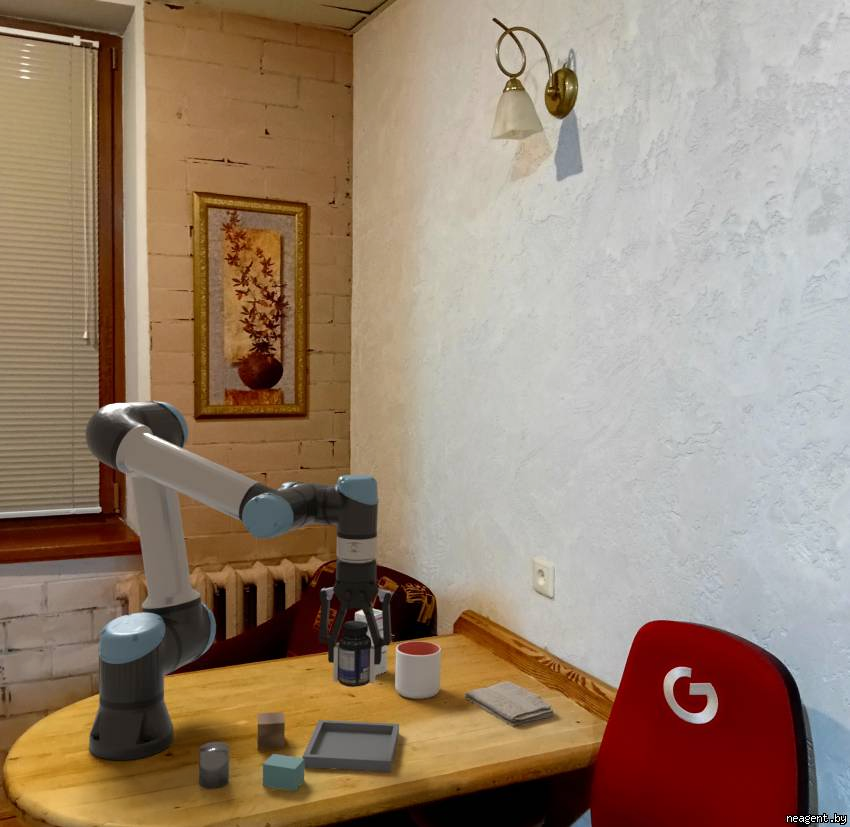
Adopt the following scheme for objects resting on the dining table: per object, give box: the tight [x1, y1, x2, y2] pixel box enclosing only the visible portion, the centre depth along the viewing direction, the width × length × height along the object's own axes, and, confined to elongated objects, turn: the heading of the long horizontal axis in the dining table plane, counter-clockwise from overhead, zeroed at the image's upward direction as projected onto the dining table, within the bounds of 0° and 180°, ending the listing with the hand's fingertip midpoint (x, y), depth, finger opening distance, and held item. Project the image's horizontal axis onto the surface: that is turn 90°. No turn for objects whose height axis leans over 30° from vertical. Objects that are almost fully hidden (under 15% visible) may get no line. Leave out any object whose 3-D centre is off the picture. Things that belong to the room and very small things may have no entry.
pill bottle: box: [338, 620, 371, 688], centre depth 162 cm, size 6×6×11 cm
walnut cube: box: [257, 711, 286, 751], centre depth 165 cm, size 5×5×5 cm
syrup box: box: [354, 607, 388, 677], centre depth 203 cm, size 6×6×14 cm
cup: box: [394, 640, 442, 700], centre depth 192 cm, size 10×10×10 cm
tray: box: [301, 719, 400, 773], centre depth 163 cm, size 16×16×2 cm
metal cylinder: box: [198, 741, 230, 790], centre depth 149 cm, size 5×5×6 cm
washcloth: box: [464, 681, 556, 728], centre depth 185 cm, size 12×18×3 cm, turn 34°
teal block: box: [262, 753, 306, 792], centre depth 149 cm, size 6×4×4 cm, turn 74°
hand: (354, 679), depth 162 cm, fingers closed on pill bottle, 6 cm apart
